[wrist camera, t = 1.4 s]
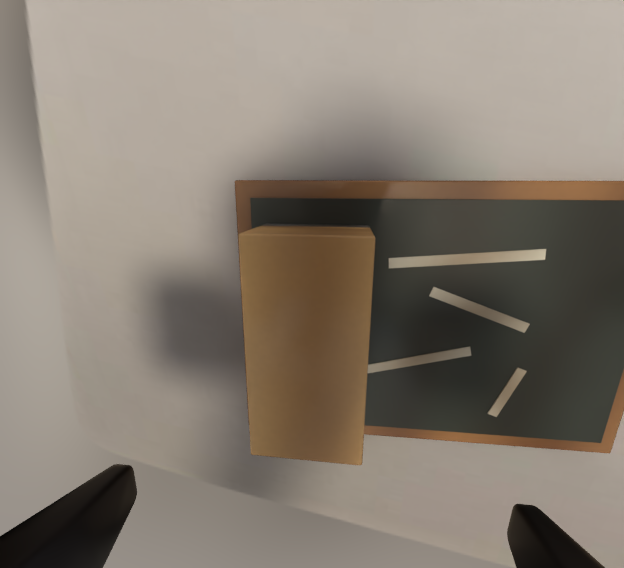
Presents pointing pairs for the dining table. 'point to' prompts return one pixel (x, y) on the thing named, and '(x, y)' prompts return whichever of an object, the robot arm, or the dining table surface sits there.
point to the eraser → (307, 338)
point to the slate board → (481, 303)
